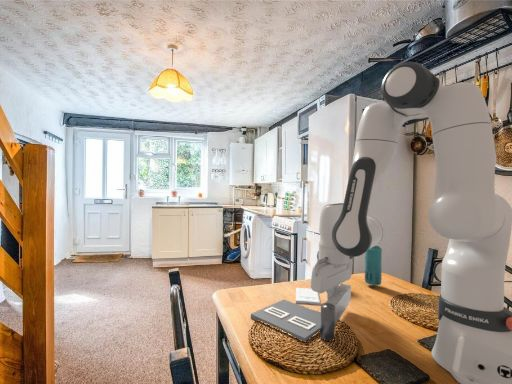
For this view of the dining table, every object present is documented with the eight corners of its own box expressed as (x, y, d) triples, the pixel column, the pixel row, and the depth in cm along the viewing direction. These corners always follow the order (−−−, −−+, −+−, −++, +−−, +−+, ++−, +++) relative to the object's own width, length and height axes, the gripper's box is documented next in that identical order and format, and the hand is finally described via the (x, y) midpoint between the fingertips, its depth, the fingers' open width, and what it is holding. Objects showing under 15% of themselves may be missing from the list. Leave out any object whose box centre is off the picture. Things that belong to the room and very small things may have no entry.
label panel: (335, 321, 81) (335, 316, 81) (304, 342, 69) (304, 336, 69) (283, 302, 94) (283, 298, 94) (250, 317, 82) (250, 312, 82)
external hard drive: (317, 293, 105) (320, 306, 93) (295, 291, 106) (295, 304, 94) (317, 289, 105) (320, 302, 93) (295, 287, 106) (295, 300, 94)
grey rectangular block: (332, 342, 69) (333, 309, 69) (318, 338, 71) (319, 306, 71) (351, 309, 89) (351, 284, 89) (340, 306, 91) (340, 281, 91)
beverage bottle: (382, 285, 113) (383, 237, 113) (380, 290, 108) (381, 239, 108) (365, 282, 117) (366, 235, 117) (362, 287, 111) (363, 237, 111)
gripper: (325, 263, 76) (324, 313, 76) (356, 252, 91) (355, 293, 91) (306, 258, 80) (304, 306, 80) (338, 248, 95) (337, 288, 95)
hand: (331, 299), depth 85 cm, fingers closed
